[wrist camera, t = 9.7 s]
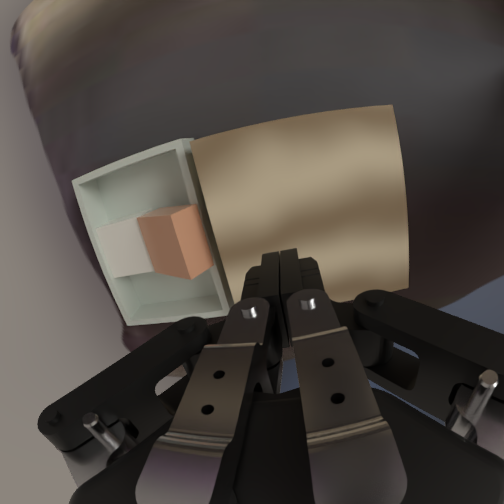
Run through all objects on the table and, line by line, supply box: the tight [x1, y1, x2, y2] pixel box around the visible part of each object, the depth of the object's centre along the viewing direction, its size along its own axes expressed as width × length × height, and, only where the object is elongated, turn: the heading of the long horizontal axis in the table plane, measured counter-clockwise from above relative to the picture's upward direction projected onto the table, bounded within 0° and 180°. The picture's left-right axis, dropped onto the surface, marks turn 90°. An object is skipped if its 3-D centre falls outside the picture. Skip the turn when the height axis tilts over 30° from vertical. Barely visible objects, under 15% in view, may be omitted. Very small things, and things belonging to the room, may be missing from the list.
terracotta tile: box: [137, 204, 214, 280], centre depth 23 cm, size 5×5×2 cm
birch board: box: [190, 105, 409, 304], centre depth 22 cm, size 14×14×5 cm
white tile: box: [96, 208, 155, 278], centre depth 25 cm, size 5×5×2 cm
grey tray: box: [72, 138, 234, 326], centre depth 25 cm, size 15×11×4 cm
